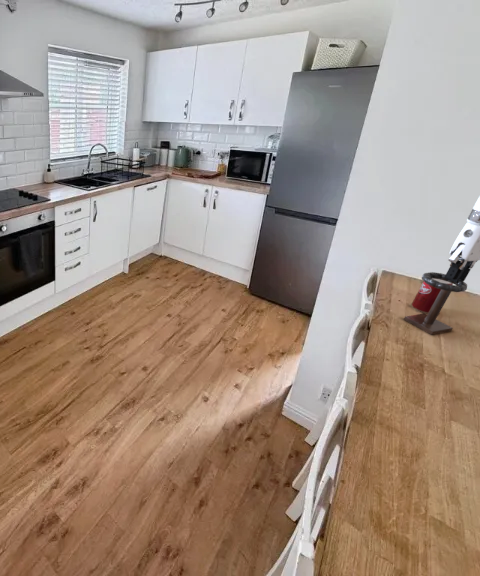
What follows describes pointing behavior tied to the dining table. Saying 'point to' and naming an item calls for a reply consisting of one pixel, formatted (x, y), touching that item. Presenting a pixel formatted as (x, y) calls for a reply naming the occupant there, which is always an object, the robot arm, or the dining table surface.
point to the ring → (457, 287)
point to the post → (431, 316)
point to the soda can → (427, 296)
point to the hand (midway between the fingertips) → (454, 279)
